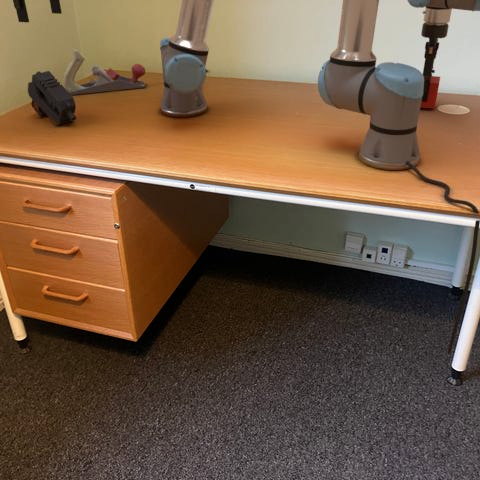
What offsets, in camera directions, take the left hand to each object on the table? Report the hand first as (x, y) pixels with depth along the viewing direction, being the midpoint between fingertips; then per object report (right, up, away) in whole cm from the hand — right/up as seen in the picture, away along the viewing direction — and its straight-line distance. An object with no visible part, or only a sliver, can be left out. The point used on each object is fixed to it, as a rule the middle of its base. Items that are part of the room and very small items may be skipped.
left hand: (41, 17), depth 142 cm
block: (+113, -15, +32) cm, 118 cm away
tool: (-5, -21, +27) cm, 35 cm away
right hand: (+113, -13, +31) cm, 118 cm away
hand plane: (+3, -3, +56) cm, 56 cm away
